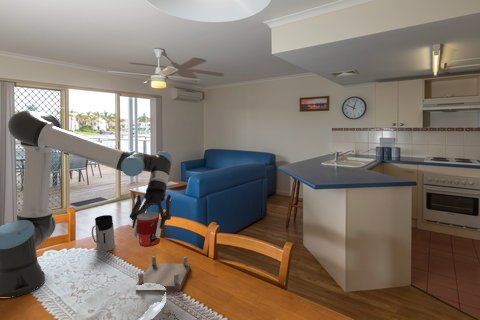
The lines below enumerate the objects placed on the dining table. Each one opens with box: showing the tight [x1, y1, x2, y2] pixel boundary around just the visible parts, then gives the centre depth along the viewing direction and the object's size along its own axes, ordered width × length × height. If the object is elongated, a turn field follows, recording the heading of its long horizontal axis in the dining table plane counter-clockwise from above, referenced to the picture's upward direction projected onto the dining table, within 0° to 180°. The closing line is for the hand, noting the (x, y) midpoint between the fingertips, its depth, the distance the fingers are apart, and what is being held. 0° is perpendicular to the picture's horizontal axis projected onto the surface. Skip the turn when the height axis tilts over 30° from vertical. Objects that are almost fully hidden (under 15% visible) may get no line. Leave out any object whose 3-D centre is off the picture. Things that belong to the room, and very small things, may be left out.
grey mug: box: [91, 214, 117, 252], centre depth 132 cm, size 9×14×15 cm, turn 176°
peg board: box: [135, 255, 191, 293], centre depth 106 cm, size 16×16×6 cm
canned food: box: [137, 211, 161, 248], centre depth 105 cm, size 8×8×11 cm
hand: (145, 236), depth 102 cm, fingers closed on canned food, 8 cm apart
